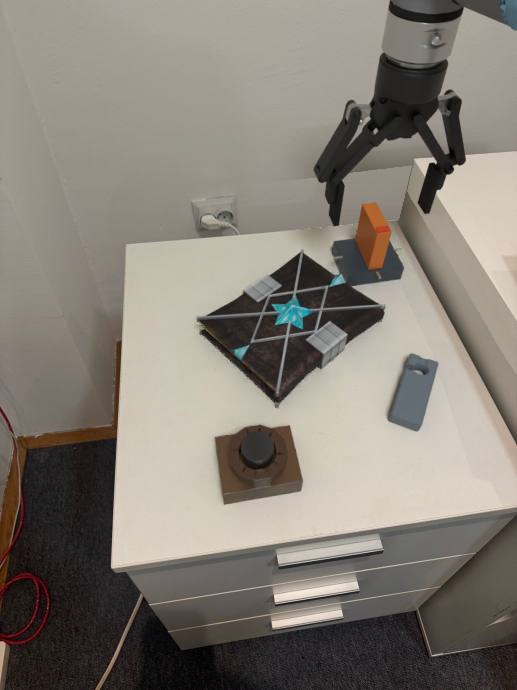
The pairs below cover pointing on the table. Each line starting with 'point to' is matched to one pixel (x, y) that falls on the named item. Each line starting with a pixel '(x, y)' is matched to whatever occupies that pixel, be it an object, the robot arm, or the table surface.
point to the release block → (258, 482)
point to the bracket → (413, 392)
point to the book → (290, 324)
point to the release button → (257, 449)
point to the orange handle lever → (372, 235)
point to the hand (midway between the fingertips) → (378, 214)
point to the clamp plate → (357, 269)
